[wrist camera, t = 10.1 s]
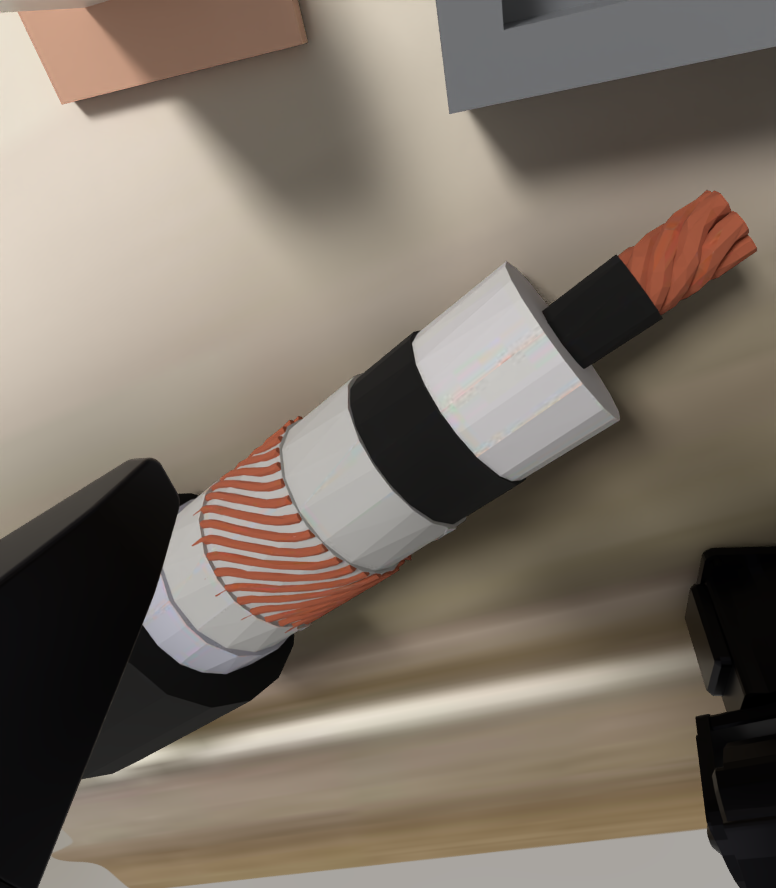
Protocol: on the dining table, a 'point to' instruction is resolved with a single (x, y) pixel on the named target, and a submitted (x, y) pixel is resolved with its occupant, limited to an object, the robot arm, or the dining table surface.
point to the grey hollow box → (585, 42)
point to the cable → (390, 473)
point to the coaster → (154, 40)
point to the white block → (44, 4)
